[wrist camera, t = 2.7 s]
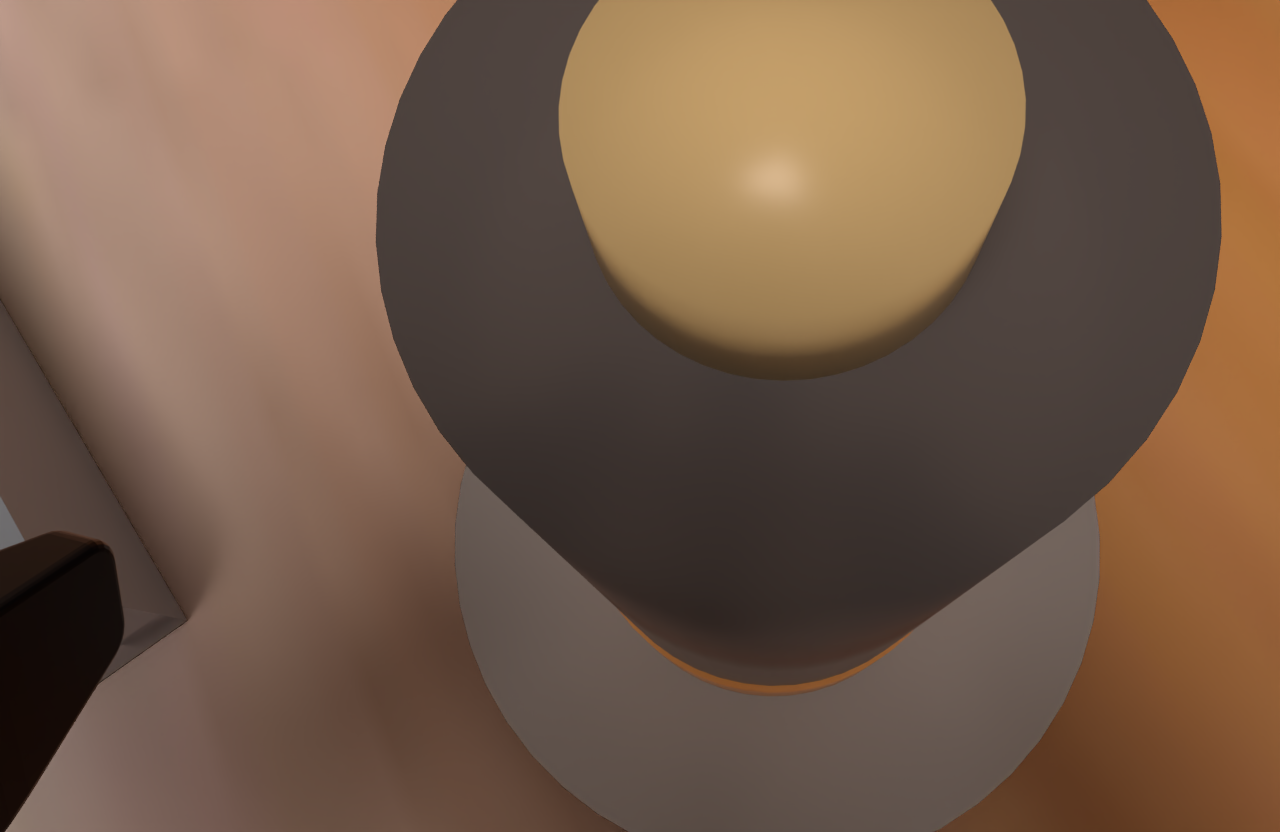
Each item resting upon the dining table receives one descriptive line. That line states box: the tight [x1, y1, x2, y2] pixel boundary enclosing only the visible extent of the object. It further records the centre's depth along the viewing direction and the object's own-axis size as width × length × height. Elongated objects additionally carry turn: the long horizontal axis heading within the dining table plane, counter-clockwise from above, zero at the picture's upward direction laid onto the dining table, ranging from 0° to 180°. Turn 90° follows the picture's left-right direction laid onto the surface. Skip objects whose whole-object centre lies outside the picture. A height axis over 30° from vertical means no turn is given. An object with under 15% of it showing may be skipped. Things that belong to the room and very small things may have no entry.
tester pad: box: [455, 465, 1100, 832], centre depth 19 cm, size 10×10×1 cm
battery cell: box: [376, 0, 1221, 696], centre depth 12 cm, size 5×5×13 cm
